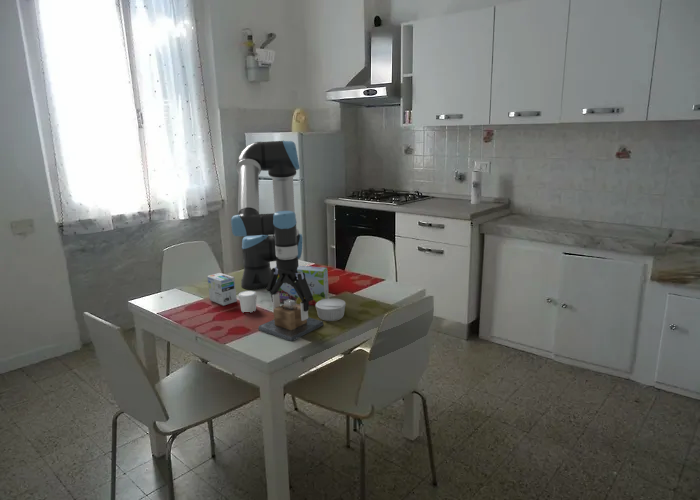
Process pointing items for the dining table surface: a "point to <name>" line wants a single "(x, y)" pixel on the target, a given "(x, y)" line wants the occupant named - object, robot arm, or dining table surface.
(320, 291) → the snack box
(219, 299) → the light bulb box
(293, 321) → the walnut collar
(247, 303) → the white tapered pot
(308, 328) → the shaft plate
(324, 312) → the ramekin
